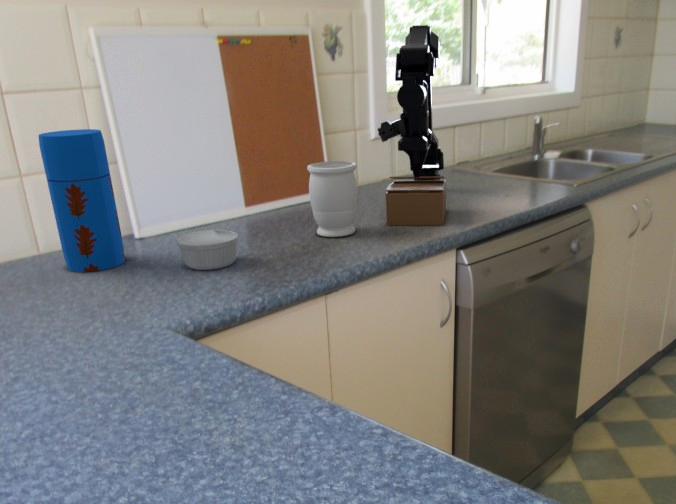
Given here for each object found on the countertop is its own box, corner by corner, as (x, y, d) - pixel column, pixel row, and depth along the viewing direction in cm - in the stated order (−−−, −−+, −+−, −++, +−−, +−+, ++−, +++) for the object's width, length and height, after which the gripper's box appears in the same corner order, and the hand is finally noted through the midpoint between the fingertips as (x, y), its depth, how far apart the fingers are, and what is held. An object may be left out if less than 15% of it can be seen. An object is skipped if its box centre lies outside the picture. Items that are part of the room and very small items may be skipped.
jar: (331, 224, 153) (327, 159, 148) (368, 229, 148) (365, 162, 143) (302, 236, 144) (296, 166, 139) (341, 241, 139) (336, 170, 134)
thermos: (61, 274, 124) (30, 138, 115) (71, 258, 133) (44, 131, 124) (123, 268, 126) (97, 134, 117) (128, 253, 136) (106, 127, 127)
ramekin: (253, 259, 129) (250, 233, 128) (210, 275, 121) (207, 247, 119) (211, 252, 135) (208, 226, 133) (168, 267, 126) (164, 240, 124)
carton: (394, 210, 165) (393, 177, 162) (445, 210, 164) (445, 177, 161) (386, 225, 151) (385, 190, 148) (442, 225, 150) (442, 189, 147)
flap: (393, 178, 162) (393, 177, 162) (445, 178, 161) (445, 177, 161) (389, 178, 155) (389, 176, 155) (444, 177, 154) (444, 176, 153)
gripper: (384, 104, 157) (387, 170, 163) (373, 111, 140) (376, 185, 145) (431, 103, 156) (432, 170, 162) (425, 110, 139) (426, 184, 144)
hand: (416, 177), depth 153 cm, fingers closed
